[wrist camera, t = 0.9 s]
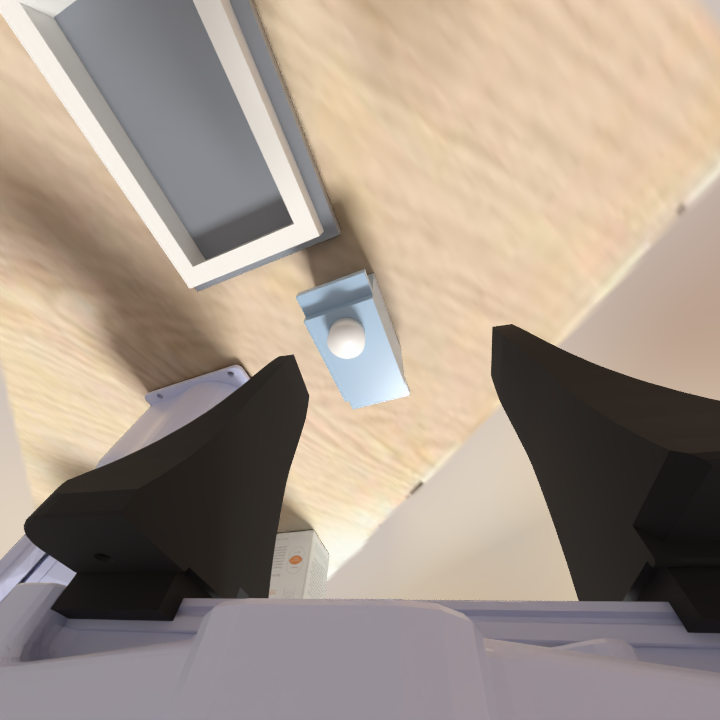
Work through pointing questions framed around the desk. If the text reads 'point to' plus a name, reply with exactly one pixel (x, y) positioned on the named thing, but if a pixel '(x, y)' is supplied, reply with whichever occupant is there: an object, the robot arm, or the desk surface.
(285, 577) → the small box
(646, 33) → the desk surface
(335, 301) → the block
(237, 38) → the board
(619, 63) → the desk surface
